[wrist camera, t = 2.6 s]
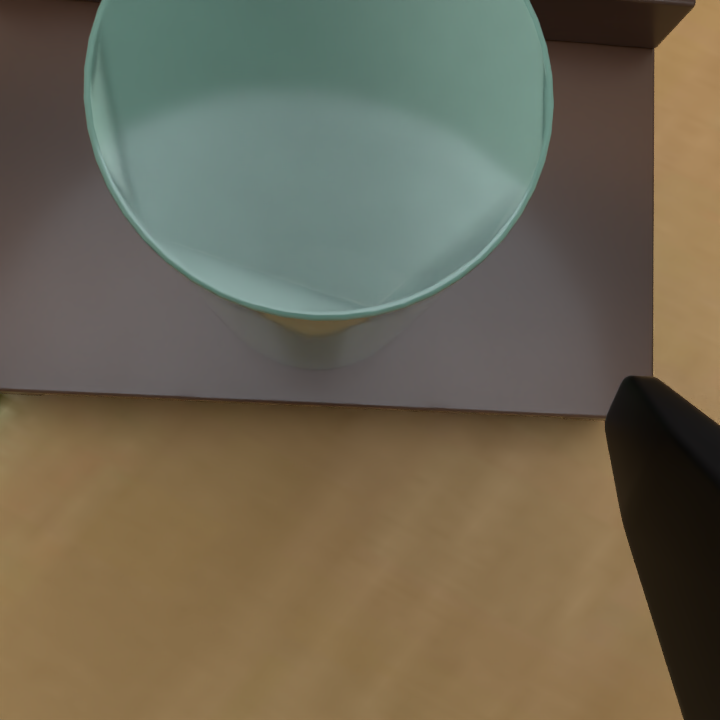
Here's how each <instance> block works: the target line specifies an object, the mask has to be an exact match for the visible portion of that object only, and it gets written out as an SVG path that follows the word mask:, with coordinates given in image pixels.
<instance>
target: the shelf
mask: <svg viewBox="0 0 720 720" xmlns="http://www.w3.org/2000/svg"><path fill="white" fill-rule="evenodd" d="M101 1H102V0H0V393H2V394H21V395H44V394H54V395H76V396H99V397H121V398H143V399H165V400H187V401H209V402H231V403H254V404H276V405H298V406H320V407H342V408H364V409H386V410H409V411H431V412H453V413H475V414H497V415H519V416H541V417H563V419H576V420H601V421H605V420H606V416H607V413H608V411H609V408H610V406H611V404H612V402H613V400H614V397H615V395H616V393H617V391H618V388H619V386H620V384H621V382H622V381H623V379H624V378H626V377H627V376H631V375H634V376H651V377H653V226H654V48H656V47H657V46H658V45H659V44H660V43H661V42H662V41H663V40H664V39H665V38H666V36H667V35H668V34H669V33H670V32H671V31H672V30H673V29H674V28H675V27H676V26H677V25H678V24H679V22H680V21H681V20H682V19H683V18H684V17H685V16H686V15H687V14H688V13H689V12H690V11H691V10H692V8H693V7H694V6H695V0H530V3H531V5H532V7H533V9H534V11H535V13H536V15H537V18H538V20H539V23H540V26H541V29H542V32H543V36H544V39H545V42H546V45H547V49H548V54H549V60H550V65H551V71H552V77H553V98H554V111H553V123H552V134H551V139H550V144H549V148H548V153H547V157H546V162H545V165H544V168H543V170H542V173H541V176H540V178H539V181H538V184H537V186H536V189H535V191H534V193H533V195H532V197H531V199H530V201H529V203H528V204H527V206H526V208H525V210H524V212H523V214H522V216H521V217H520V219H519V220H518V221H517V223H516V224H515V225H514V227H513V228H512V230H511V231H510V232H509V234H508V235H507V236H506V238H505V239H504V240H503V241H502V242H501V244H500V245H499V246H498V247H497V248H496V249H495V250H494V251H493V252H492V253H491V254H490V255H489V256H488V257H487V258H486V259H485V260H484V261H483V262H482V263H481V264H480V265H479V266H478V267H477V268H476V269H475V270H473V271H472V272H471V273H470V274H469V275H467V276H466V277H465V278H463V279H462V280H461V281H460V282H458V283H457V284H456V285H455V286H453V287H452V288H451V289H449V290H448V291H446V292H445V293H444V294H443V295H442V296H441V297H439V298H438V299H437V300H436V301H435V302H434V303H433V304H432V305H431V306H430V307H429V308H428V309H427V310H426V311H425V312H424V313H423V314H422V315H420V316H419V317H418V318H417V319H416V320H415V321H414V322H413V323H412V324H411V325H410V326H409V327H408V328H407V329H406V330H405V331H404V332H403V333H401V334H400V335H399V336H398V337H397V338H396V339H395V340H394V341H393V342H392V343H390V344H389V345H388V346H387V347H385V348H384V349H383V350H381V351H380V352H378V353H376V354H375V355H373V356H371V357H369V358H367V359H365V360H363V361H360V362H358V363H355V364H352V365H348V366H345V367H340V368H334V369H324V370H311V369H302V368H295V367H291V366H287V365H283V364H281V363H278V362H276V361H273V360H270V359H268V358H266V357H265V356H263V355H261V354H259V353H257V352H256V351H254V350H253V349H251V348H250V347H249V346H247V345H246V344H245V343H243V342H242V341H241V340H240V339H239V338H238V337H237V336H236V335H235V334H234V333H233V332H232V331H231V330H230V329H229V328H228V327H227V325H226V324H225V323H224V322H223V321H222V320H221V319H220V318H219V317H218V316H217V315H216V313H215V312H214V311H213V310H212V309H211V308H210V307H209V306H208V305H207V304H206V303H205V301H204V300H203V299H202V298H201V297H200V296H199V295H198V294H197V293H196V292H195V291H194V289H193V288H192V287H191V286H190V285H189V284H188V283H187V282H186V281H185V280H184V279H183V278H182V277H180V276H179V275H178V274H176V273H175V272H174V271H173V270H172V269H171V268H170V267H169V266H168V265H167V264H166V263H165V262H164V261H163V260H162V259H161V258H160V257H159V256H158V255H157V254H155V253H154V252H153V250H152V249H151V248H150V247H149V246H148V245H147V244H146V243H145V242H144V241H143V240H142V239H141V237H140V236H139V235H138V233H137V232H136V231H135V230H134V228H133V227H132V226H131V225H130V223H129V222H128V221H127V220H126V218H125V217H124V216H123V214H122V212H121V211H120V209H119V207H118V206H117V204H116V202H115V201H114V199H113V197H112V196H111V194H110V192H109V191H108V189H107V187H106V184H105V182H104V180H103V177H102V175H101V172H100V170H99V168H98V165H97V163H96V161H95V157H94V154H93V150H92V146H91V142H90V139H89V135H88V131H87V124H86V117H85V109H84V101H83V96H84V66H85V59H86V53H87V47H88V40H89V36H90V33H91V29H92V26H93V23H94V20H95V16H96V13H97V10H98V7H99V5H100V3H101Z"/></svg>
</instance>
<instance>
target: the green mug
mask: <svg viewBox="0 0 720 720" xmlns="http://www.w3.org/2000/svg"><path fill="white" fill-rule="evenodd" d="M83 101H84V109H85V117H86V124H87V131H88V135H89V139H90V142H91V146H92V150H93V154H94V157H95V161H96V163H97V165H98V168H99V170H100V172H101V175H102V177H103V180H104V182H105V184H106V187H107V189H108V191H109V192H110V194H111V196H112V197H113V199H114V201H115V202H116V204H117V206H118V207H119V209H120V211H121V212H122V214H123V216H124V217H125V218H126V220H127V221H128V222H129V223H130V225H131V226H132V227H133V228H134V230H135V231H136V232H137V233H138V235H139V236H140V237H141V239H142V240H143V241H144V242H145V243H146V244H147V245H148V246H149V247H150V248H151V249H152V250H153V252H154V253H155V254H157V255H158V256H159V257H160V258H161V259H162V260H163V261H164V262H165V263H166V264H167V265H168V266H169V267H170V268H171V269H172V270H173V271H174V272H175V273H176V274H178V275H179V276H180V277H182V278H183V279H184V280H185V281H186V282H187V283H188V284H189V285H190V286H191V287H192V288H193V289H194V291H195V292H196V293H197V294H198V295H199V296H200V297H201V298H202V299H203V300H204V301H205V303H206V304H207V305H208V306H209V307H210V308H211V309H212V310H213V311H214V312H215V313H216V315H217V316H218V317H219V318H220V319H221V320H222V321H223V322H224V323H225V324H226V325H227V327H228V328H229V329H230V330H231V331H232V332H233V333H234V334H235V335H236V336H237V337H238V338H239V339H240V340H241V341H242V342H243V343H245V344H246V345H247V346H249V347H250V348H251V349H253V350H254V351H256V352H257V353H259V354H261V355H263V356H265V357H266V358H268V359H270V360H273V361H276V362H278V363H281V364H283V365H287V366H291V367H295V368H302V369H311V370H324V369H334V368H340V367H345V366H348V365H352V364H355V363H358V362H360V361H363V360H365V359H367V358H369V357H371V356H373V355H375V354H376V353H378V352H380V351H381V350H383V349H384V348H385V347H387V346H388V345H389V344H390V343H392V342H393V341H394V340H395V339H396V338H397V337H398V336H399V335H400V334H401V333H403V332H404V331H405V330H406V329H407V328H408V327H409V326H410V325H411V324H412V323H413V322H414V321H415V320H416V319H417V318H418V317H419V316H420V315H422V314H423V313H424V312H425V311H426V310H427V309H428V308H429V307H430V306H431V305H432V304H433V303H434V302H435V301H436V300H437V299H438V298H439V297H441V296H442V295H443V294H444V293H445V292H446V291H448V290H449V289H451V288H452V287H453V286H455V285H456V284H457V283H458V282H460V281H461V280H462V279H463V278H465V277H466V276H467V275H469V274H470V273H471V272H472V271H473V270H475V269H476V268H477V267H478V266H479V265H480V264H481V263H482V262H483V261H484V260H485V259H486V258H487V257H488V256H489V255H490V254H491V253H492V252H493V251H494V250H495V249H496V248H497V247H498V246H499V245H500V244H501V242H502V241H503V240H504V239H505V238H506V236H507V235H508V234H509V232H510V231H511V230H512V228H513V227H514V225H515V224H516V223H517V221H518V220H519V219H520V217H521V216H522V214H523V212H524V210H525V208H526V206H527V204H528V203H529V201H530V199H531V197H532V195H533V193H534V191H535V189H536V186H537V184H538V181H539V178H540V176H541V173H542V170H543V168H544V165H545V162H546V157H547V153H548V148H549V144H550V139H551V134H552V123H553V111H554V98H553V77H552V71H551V65H550V60H549V54H548V49H547V45H546V42H545V39H544V36H543V32H542V29H541V26H540V23H539V20H538V18H537V15H536V13H535V11H534V9H533V7H532V5H531V3H530V0H102V1H101V3H100V5H99V7H98V10H97V13H96V16H95V20H94V23H93V26H92V29H91V33H90V36H89V40H88V47H87V53H86V59H85V66H84V96H83Z"/></svg>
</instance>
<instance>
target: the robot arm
mask: <svg viewBox="0 0 720 720" xmlns="http://www.w3.org/2000/svg"><path fill="white" fill-rule="evenodd" d="M605 433H606V438H607V444H608V449H609V454H610V460H611V465H612V470H613V476H614V481H615V486H616V492H617V497H618V502H619V508H620V512H621V517H622V521H623V525H624V529H625V532H626V536H627V539H628V543H629V546H630V549H631V552H632V555H633V559H634V562H635V565H636V568H637V571H638V575H639V578H640V581H641V584H642V587H643V591H644V594H645V597H646V600H647V603H648V607H649V610H650V613H651V616H652V619H653V623H654V626H655V629H656V632H657V635H658V639H659V642H660V645H661V648H662V651H663V655H664V658H665V661H666V664H667V667H668V671H669V674H670V677H671V680H672V683H673V687H674V690H675V693H676V696H677V699H678V703H679V706H680V709H681V712H682V715H683V719H684V720H720V425H718V424H717V423H716V422H714V421H713V420H712V419H710V418H709V417H708V416H706V415H705V414H704V413H703V412H701V411H700V410H699V409H697V408H696V407H695V406H693V405H692V404H691V403H689V402H688V401H687V400H685V399H684V398H683V397H682V396H680V395H679V394H678V393H676V392H675V391H674V390H672V389H671V388H670V387H668V386H667V385H666V384H664V383H663V382H662V381H661V380H659V379H658V378H655V377H651V376H634V375H631V376H627V377H626V378H624V379H623V381H622V382H621V384H620V386H619V388H618V391H617V393H616V395H615V397H614V400H613V402H612V404H611V406H610V408H609V411H608V413H607V416H606V420H605Z"/></svg>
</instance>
